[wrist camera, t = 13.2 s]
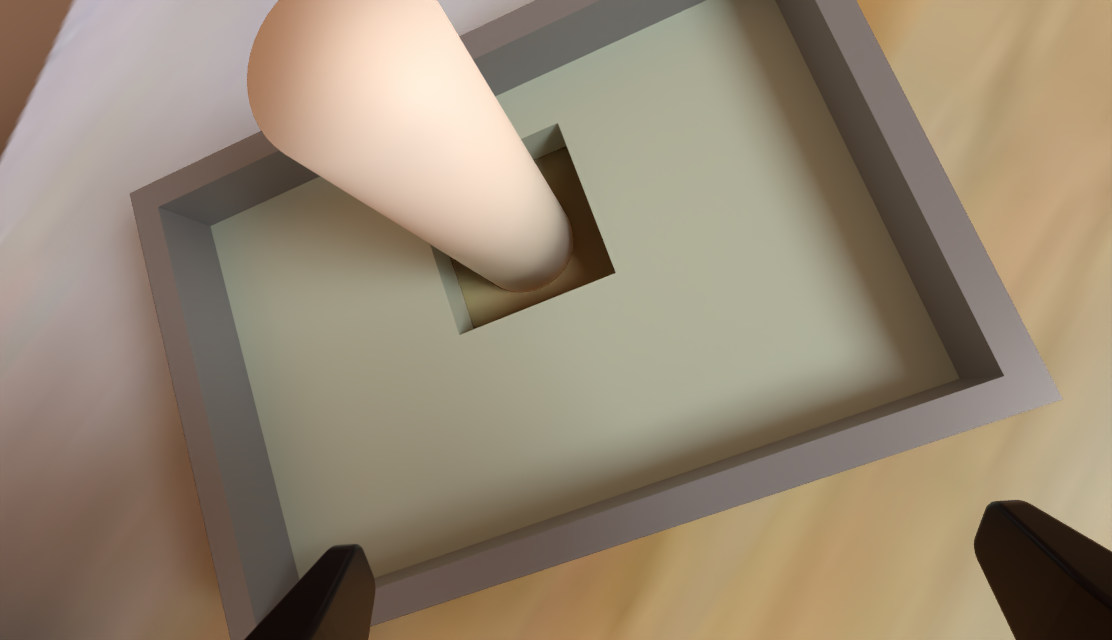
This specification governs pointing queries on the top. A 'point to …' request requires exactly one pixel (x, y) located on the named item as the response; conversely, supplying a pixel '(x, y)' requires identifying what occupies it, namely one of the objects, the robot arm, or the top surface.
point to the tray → (583, 312)
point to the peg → (408, 131)
